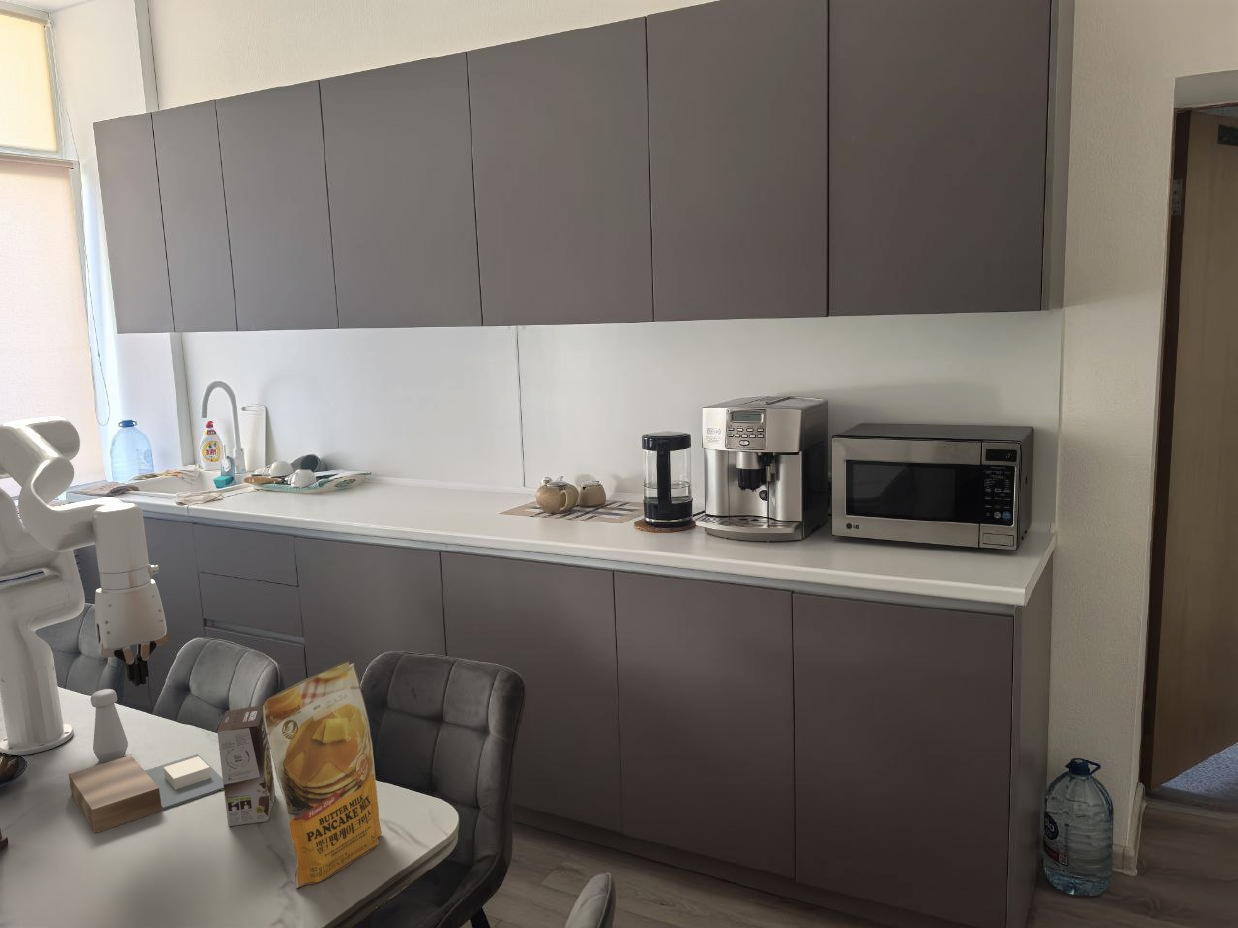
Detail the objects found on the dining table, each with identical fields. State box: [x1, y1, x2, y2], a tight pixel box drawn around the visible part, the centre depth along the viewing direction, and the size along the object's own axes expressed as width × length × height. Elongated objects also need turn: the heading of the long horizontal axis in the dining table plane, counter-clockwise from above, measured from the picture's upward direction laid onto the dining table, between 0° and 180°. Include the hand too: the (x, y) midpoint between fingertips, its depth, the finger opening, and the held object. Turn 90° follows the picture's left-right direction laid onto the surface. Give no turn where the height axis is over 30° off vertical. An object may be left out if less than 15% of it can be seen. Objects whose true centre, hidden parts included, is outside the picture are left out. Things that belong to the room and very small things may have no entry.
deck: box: [68, 754, 163, 834], centre depth 168 cm, size 17×10×4 cm, turn 40°
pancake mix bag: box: [262, 660, 383, 889], centre depth 145 cm, size 7×19×28 cm, turn 147°
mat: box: [144, 753, 224, 811], centre depth 174 cm, size 17×11×1 cm, turn 40°
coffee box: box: [217, 705, 276, 827], centre depth 162 cm, size 9×6×16 cm
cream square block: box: [163, 755, 211, 790], centre depth 175 cm, size 6×6×2 cm
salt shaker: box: [90, 688, 129, 764], centre depth 184 cm, size 6×6×13 cm
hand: (138, 682), depth 169 cm, fingers closed
